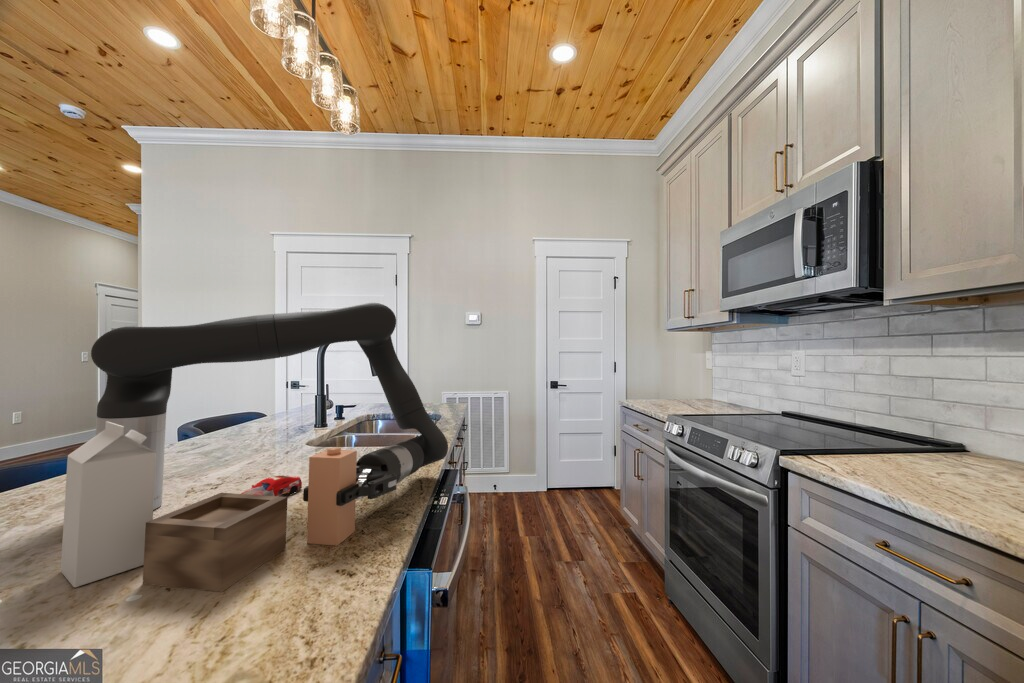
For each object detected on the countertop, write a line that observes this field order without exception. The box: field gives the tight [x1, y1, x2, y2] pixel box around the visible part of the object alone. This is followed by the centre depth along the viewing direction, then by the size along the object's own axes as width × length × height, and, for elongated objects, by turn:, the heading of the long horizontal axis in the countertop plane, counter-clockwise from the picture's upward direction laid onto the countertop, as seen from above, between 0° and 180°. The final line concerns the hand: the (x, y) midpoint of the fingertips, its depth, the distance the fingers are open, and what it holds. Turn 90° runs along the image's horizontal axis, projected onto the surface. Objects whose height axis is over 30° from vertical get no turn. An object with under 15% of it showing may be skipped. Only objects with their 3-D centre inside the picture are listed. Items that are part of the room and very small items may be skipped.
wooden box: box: [142, 492, 289, 593], centre depth 54 cm, size 11×11×8 cm
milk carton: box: [60, 421, 156, 588], centre depth 53 cm, size 7×7×19 cm
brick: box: [306, 446, 358, 546], centre depth 63 cm, size 5×5×14 cm
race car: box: [240, 475, 303, 497], centre depth 79 cm, size 13×5×4 cm, turn 162°
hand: (321, 497), depth 60 cm, fingers closed on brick, 5 cm apart
